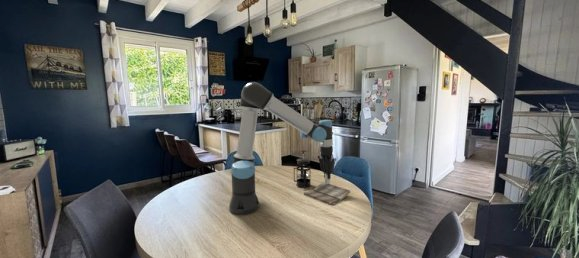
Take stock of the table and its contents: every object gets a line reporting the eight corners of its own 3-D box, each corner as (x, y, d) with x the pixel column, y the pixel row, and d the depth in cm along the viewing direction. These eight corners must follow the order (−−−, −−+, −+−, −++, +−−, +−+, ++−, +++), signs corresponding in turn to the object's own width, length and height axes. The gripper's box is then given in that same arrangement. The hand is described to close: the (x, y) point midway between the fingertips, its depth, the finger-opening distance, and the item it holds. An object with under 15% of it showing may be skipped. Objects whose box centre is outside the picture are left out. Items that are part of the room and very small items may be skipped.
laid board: (303, 194, 142) (303, 192, 142) (312, 191, 147) (312, 188, 147) (330, 205, 127) (330, 202, 127) (339, 201, 132) (339, 198, 132)
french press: (309, 182, 163) (309, 148, 161) (313, 187, 154) (313, 151, 152) (292, 183, 162) (292, 149, 159) (295, 188, 152) (294, 152, 150)
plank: (314, 190, 147) (313, 189, 147) (323, 183, 153) (323, 181, 152) (340, 200, 132) (340, 198, 132) (350, 192, 138) (349, 190, 137)
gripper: (314, 145, 148) (315, 182, 151) (330, 148, 138) (332, 188, 141) (322, 143, 153) (323, 179, 156) (339, 146, 143) (340, 184, 146)
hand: (327, 183), depth 149 cm, fingers closed
